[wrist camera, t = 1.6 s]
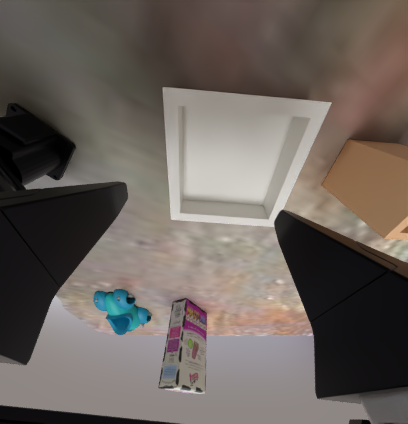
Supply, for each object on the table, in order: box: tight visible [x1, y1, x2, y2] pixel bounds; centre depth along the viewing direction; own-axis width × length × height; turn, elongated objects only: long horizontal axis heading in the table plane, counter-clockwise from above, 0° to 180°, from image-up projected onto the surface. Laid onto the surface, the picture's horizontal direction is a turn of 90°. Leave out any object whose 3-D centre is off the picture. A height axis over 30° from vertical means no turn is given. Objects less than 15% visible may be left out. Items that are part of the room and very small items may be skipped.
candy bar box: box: [159, 299, 207, 394], centre depth 40 cm, size 11×5×16 cm, turn 31°
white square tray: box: [162, 87, 331, 227], centre depth 19 cm, size 14×14×4 cm
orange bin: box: [322, 139, 408, 240], centre depth 17 cm, size 6×6×10 cm
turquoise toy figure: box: [94, 289, 152, 335], centre depth 45 cm, size 11×18×7 cm, turn 12°
